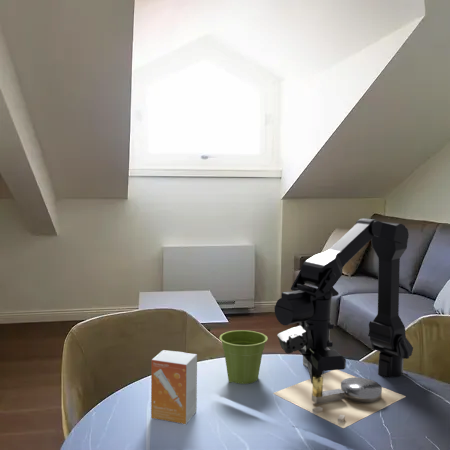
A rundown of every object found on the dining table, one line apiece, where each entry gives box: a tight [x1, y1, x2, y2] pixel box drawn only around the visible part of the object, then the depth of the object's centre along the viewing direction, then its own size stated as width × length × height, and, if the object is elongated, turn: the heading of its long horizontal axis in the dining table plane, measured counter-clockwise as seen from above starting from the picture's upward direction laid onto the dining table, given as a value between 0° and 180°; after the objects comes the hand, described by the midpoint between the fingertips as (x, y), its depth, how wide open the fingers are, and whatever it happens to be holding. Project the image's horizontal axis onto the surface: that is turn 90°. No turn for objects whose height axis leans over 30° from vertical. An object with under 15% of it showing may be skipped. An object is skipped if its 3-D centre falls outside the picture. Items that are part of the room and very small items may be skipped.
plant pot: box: [219, 329, 268, 385], centre depth 124 cm, size 12×12×11 cm
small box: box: [150, 349, 198, 425], centre depth 106 cm, size 8×6×13 cm
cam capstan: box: [312, 375, 383, 404], centre depth 113 cm, size 17×9×6 cm, turn 110°
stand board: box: [272, 370, 407, 429], centre depth 115 cm, size 23×20×2 cm
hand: (313, 383), depth 113 cm, fingers closed
